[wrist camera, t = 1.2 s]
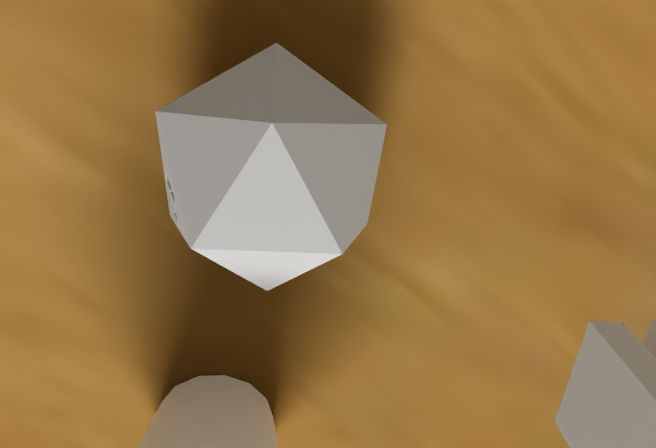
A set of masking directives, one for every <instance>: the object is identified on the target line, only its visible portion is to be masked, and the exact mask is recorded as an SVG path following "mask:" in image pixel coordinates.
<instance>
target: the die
mask: <svg viewBox="0 0 656 448" xmlns="http://www.w3.org/2000/svg"><path fill="white" fill-rule="evenodd" d="M155 113H156V120H157V127H158V134H159V141H160V149H161V156H162V163H163V170H164V177H165V184H166V192H167V199H168V206H169V213H170V217H171V218H172V220H173V221H174V223H175V224H176V226H177V228H178V229H179V231H180V232H181V234H182V236H183V237H184V239H185V240H186V242H187V243H188V245H189V247H190V248H191V249H192V250H194V251H196V252H198V253H200V254H201V255H203V256H205V257H207V258H209V259H210V260H212V261H214V262H216V263H218V264H219V265H221V266H223V267H225V268H227V269H228V270H230V271H232V272H234V273H236V274H237V275H239V276H241V277H243V278H245V279H246V280H248V281H250V282H252V283H254V284H255V285H257V286H259V287H261V288H263V289H264V290H266V291H268V290H270V289H272V288H274V287H276V286H278V285H280V284H283V283H285V282H287V281H289V280H291V279H293V278H295V277H297V276H299V275H301V274H303V273H305V272H307V271H309V270H311V269H313V268H315V267H317V266H319V265H321V264H323V263H325V262H327V261H329V260H331V259H334V258H336V257H338V256H340V255H342V254H343V253H344V252H345V250H346V249H347V248H348V247H349V246H350V244H351V243H352V242H353V241H354V239H355V238H356V237H357V236H358V234H359V233H360V232H361V231H362V230H363V228H364V227H365V226H366V225H367V223H368V218H369V213H370V208H371V203H372V198H373V193H374V188H375V183H376V178H377V173H378V168H379V163H380V158H381V153H382V148H383V143H384V138H385V133H386V127H387V124H386V123H385V122H383V121H382V120H380V119H379V118H378V117H376V116H375V115H374V114H372V113H371V112H370V111H368V110H367V109H366V108H364V107H363V106H362V105H360V104H359V103H358V102H356V101H355V100H353V99H352V98H351V97H349V96H348V95H347V94H345V93H344V92H343V91H341V90H340V89H339V88H337V87H336V86H335V85H333V84H332V83H330V82H329V81H328V80H326V79H325V78H324V77H322V76H321V75H320V74H318V73H317V72H316V71H314V70H313V69H312V68H310V67H309V66H308V65H306V64H305V63H303V62H302V61H301V60H299V59H298V58H297V57H295V56H294V55H293V54H291V53H290V52H289V51H287V50H286V49H285V48H283V47H282V46H280V45H279V44H278V43H275V44H273V45H271V46H270V47H268V48H266V49H264V50H263V51H261V52H259V53H257V54H256V55H254V56H252V57H250V58H248V59H247V60H245V61H243V62H241V63H240V64H238V65H236V66H234V67H233V68H231V69H229V70H227V71H226V72H224V73H222V74H220V75H218V76H217V77H215V78H213V79H211V80H210V81H208V82H206V83H204V84H203V85H201V86H199V87H197V88H196V89H194V90H192V91H190V92H188V93H187V94H185V95H183V96H181V97H180V98H178V99H176V100H174V101H173V102H171V103H169V104H167V105H166V106H164V107H162V108H160V109H158V110H157V111H155Z"/></svg>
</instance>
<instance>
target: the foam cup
mask: <svg viewBox="0 0 656 448" xmlns="http://www.w3.org/2000/svg"><path fill="white" fill-rule="evenodd" d="M138 448H278V443H277V437H276V430H275V425H274V422H273V415H272V413H271V410H270V407H269V404H268V401H267V399H266V398H265V397H264V396H263V395H262V394H261V393H260V392H259V391H258V390H256V389H255V388H254V387H253V386H252V385H251V384H250V383H247V382H244V381H241V380H238V379H235V378H232V377H229V376H226V375H213V376H197V377H195V378H192V379H190V380H188V381H186V382H183V383H181V384H179V385H177V386H175V387H174V388H173V389H172V390H171V391H170V393H169V394H168V395H167V396H166V397H165V399H164V400H163V401H162V402H161V403H160V407H159V408H158V410H157V411H156V413H155V415H154V417H153V419H152V421H151V423H150V425H149V427H148V429H147V431H146V433H145V435H144V437H143V439H142V441H141V443H140V445H139V447H138Z"/></svg>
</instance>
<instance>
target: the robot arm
mask: <svg viewBox="0 0 656 448" xmlns="http://www.w3.org/2000/svg"><path fill="white" fill-rule="evenodd" d="M555 422H556V424H557V426H558V428H559V429H560V431H561V433H562V435H563V436H564V438H565V440H566V442H567V443H568V445H569V447H570V448H656V358H655V357H654V356H653V355H652V354H651V353H650V352H649V351H648V350H647V348H646V347H645V346H644V345H643V344H642V343H641V342H640V341H639V340H638V339H637V338H636V336H635V335H634V334H633V333H632V332H631V331H630V330H629V329H628V328H627V327H626V326H625V325H624V323H611V322H597V321H589V324H588V327H587V330H586V333H585V335H584V338H583V341H582V344H581V347H580V350H579V353H578V356H577V359H576V361H575V364H574V367H573V370H572V373H571V376H570V379H569V382H568V384H567V387H566V390H565V393H564V396H563V399H562V402H561V405H560V408H559V410H558V413H557V416H556V419H555Z"/></svg>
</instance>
